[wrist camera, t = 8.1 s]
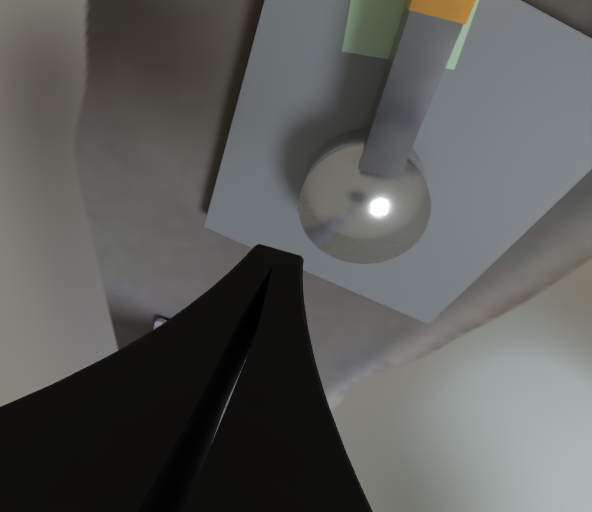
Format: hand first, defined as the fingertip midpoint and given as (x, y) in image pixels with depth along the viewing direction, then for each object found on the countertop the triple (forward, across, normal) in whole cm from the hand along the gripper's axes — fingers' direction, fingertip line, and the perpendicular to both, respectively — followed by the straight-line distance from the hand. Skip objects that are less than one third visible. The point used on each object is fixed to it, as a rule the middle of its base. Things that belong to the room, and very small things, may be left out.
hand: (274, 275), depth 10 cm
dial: (+8, -3, -2) cm, 9 cm away
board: (+10, -3, 0) cm, 10 cm away
